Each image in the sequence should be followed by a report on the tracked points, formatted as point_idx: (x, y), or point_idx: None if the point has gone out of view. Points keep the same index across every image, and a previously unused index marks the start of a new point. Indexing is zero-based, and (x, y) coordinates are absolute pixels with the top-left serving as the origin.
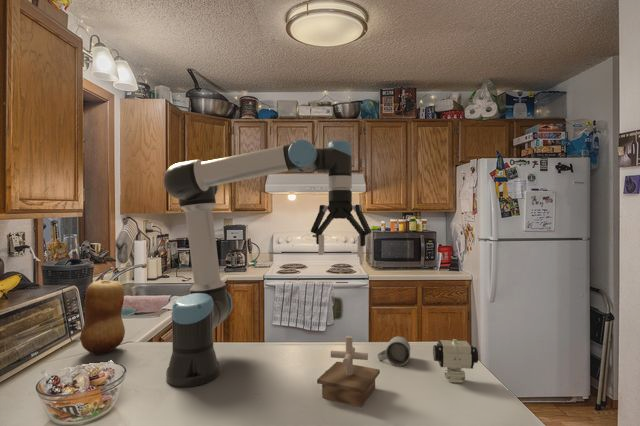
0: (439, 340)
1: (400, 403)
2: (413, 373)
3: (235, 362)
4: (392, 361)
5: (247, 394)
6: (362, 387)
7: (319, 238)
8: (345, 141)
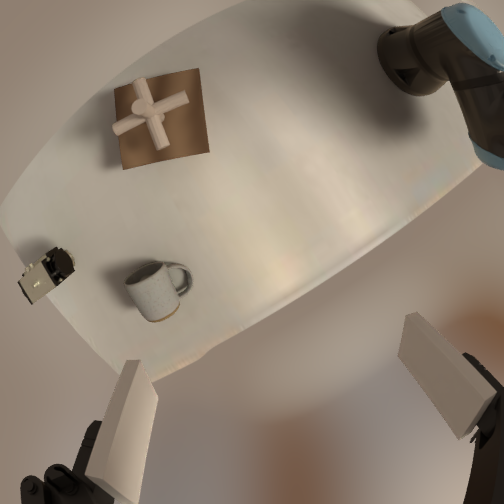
0: (54, 283)
1: (91, 145)
2: (115, 250)
3: (399, 121)
4: (159, 268)
5: (304, 39)
6: (119, 93)
7: (476, 379)
8: None
